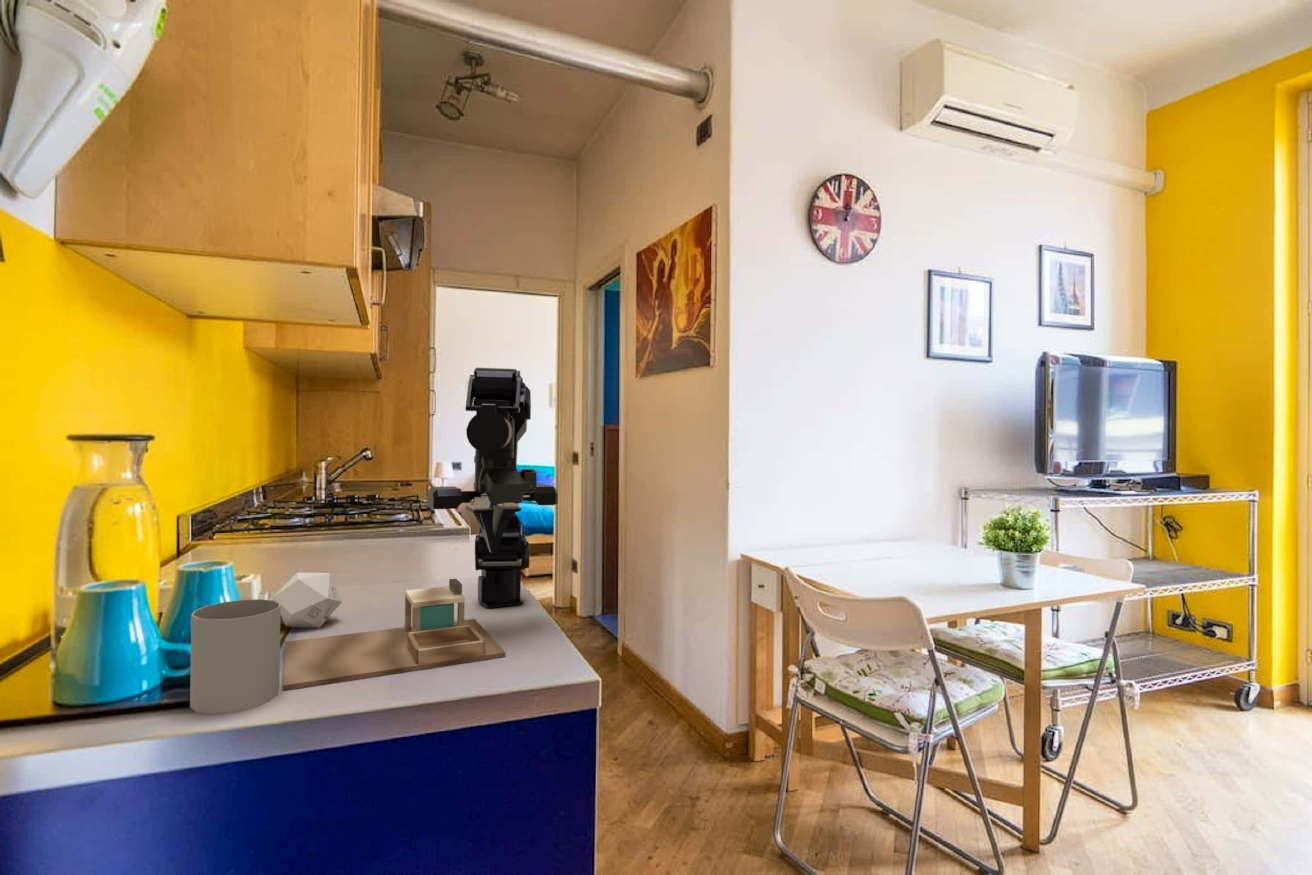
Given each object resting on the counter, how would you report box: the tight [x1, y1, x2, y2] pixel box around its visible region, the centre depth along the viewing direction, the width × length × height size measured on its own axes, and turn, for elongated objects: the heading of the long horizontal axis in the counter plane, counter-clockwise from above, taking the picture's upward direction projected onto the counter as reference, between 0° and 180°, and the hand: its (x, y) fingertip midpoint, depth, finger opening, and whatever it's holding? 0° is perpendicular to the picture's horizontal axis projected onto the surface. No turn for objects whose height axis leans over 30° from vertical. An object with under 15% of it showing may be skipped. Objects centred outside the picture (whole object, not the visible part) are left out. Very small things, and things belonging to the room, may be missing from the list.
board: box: [282, 618, 506, 692], centre depth 89 cm, size 26×17×2 cm, turn 119°
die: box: [272, 572, 343, 628], centre depth 100 cm, size 8×9×10 cm
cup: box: [189, 598, 281, 715], centre depth 73 cm, size 8×8×10 cm
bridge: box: [404, 578, 466, 632], centre depth 95 cm, size 7×8×7 cm
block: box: [419, 603, 453, 631], centre depth 95 cm, size 4×4×4 cm
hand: (492, 552), depth 99 cm, fingers closed
